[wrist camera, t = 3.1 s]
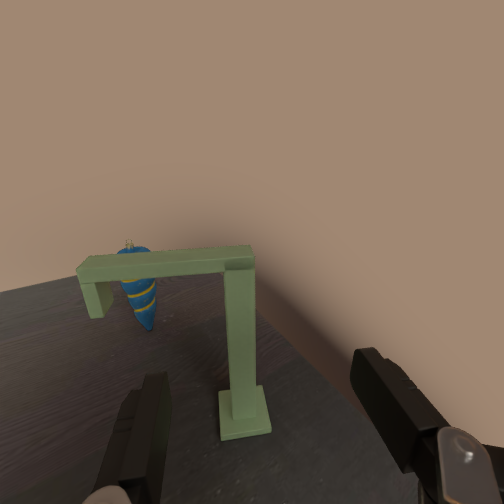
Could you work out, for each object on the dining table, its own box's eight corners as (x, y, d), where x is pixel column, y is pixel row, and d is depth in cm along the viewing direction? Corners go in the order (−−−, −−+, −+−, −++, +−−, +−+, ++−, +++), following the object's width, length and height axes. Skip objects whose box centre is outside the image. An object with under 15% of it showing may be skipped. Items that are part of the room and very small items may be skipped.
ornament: (172, 330, 41) (157, 238, 35) (139, 347, 37) (116, 249, 32) (156, 315, 44) (141, 230, 38) (125, 330, 41) (102, 238, 35)
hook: (261, 389, 31) (262, 238, 24) (271, 432, 26) (275, 261, 19) (137, 408, 29) (95, 249, 22) (124, 457, 24) (65, 278, 17)
